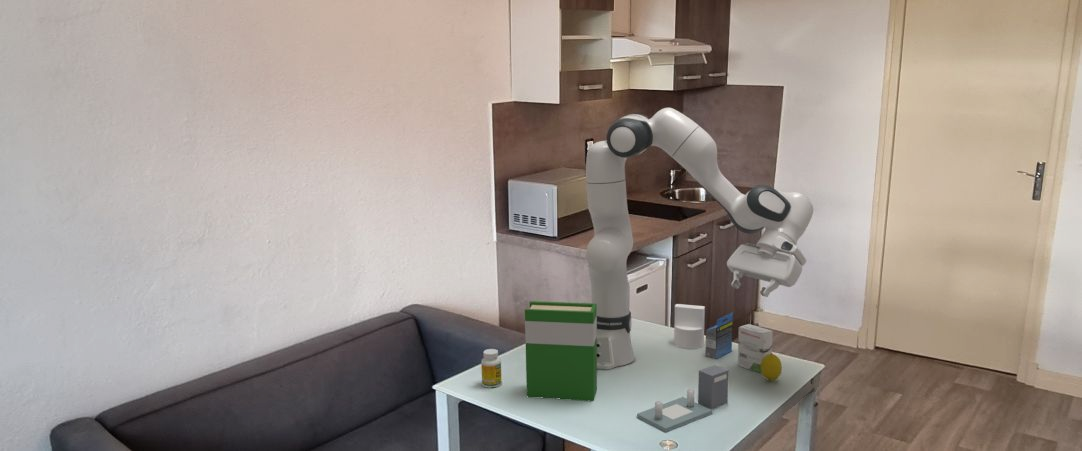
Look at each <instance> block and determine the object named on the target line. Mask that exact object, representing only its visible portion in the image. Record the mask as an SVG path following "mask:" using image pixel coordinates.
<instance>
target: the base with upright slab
mask: <svg viewBox="0 0 1082 451" xmlns="http://www.w3.org/2000/svg"><path fill="white" fill-rule="evenodd" d="M705 307H706V306H703V305H696V304H695V305H694V304H693V305H692V304H682V303H676V304H674V330H673V331H674V332H673V333H674V334H673V335H674V337H673V340H674V341H673V344H674V346H675V347H678V348H680V349H685V350H698V349H700V348H701V349H702V347H704V345H705V316H706V315H705V314H706V313H705V312H706V308H705Z"/></svg>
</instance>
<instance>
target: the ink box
mask: <svg viewBox="0 0 1082 451" xmlns="http://www.w3.org/2000/svg"><path fill="white" fill-rule="evenodd" d="M773 333H774V332H773V329H772V330H771V329H767V328H764V327H761V326H758V325H753V324H750V323H747V324H744V325H741V326H739V327H738V337H737V338H738V339H737V341H738V343H737V344H738V345H737V366H739V367H742V368H745V369H747V370H751V371H754V372H756V373H759V374H762V373H761V362H762V359H763V358H764V357H765V356H766V355H768V354H771V353H773V337H774V336H773Z"/></svg>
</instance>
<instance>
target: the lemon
mask: <svg viewBox="0 0 1082 451" xmlns="http://www.w3.org/2000/svg"><path fill="white" fill-rule="evenodd" d="M782 370H783V366H782V361H781V359H780V357H778V356H777V355H776V354H774V353H773V352H772V353H771V354H768V355H766V356H765V357H764V358H763V359H762V362H761V373H760V374H761V375H762V376H763V378H765V379H766V380H768V382H773V381H774V380H776V379H779V377H780V376H781V374H782Z"/></svg>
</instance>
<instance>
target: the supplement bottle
mask: <svg viewBox="0 0 1082 451" xmlns="http://www.w3.org/2000/svg"><path fill="white" fill-rule="evenodd" d="M482 356H483V358H482V359H481V362H480V363H481V384H482V386H483V385H484V386H486V387H496V388H498V387H500V386H501V385H502V381H503V380H502V360H501V358H500V357H499V350H498V349H496V348H487V349H485V350H483V355H482ZM499 385H500V386H499ZM484 386H483V387H484ZM497 386H498V387H497ZM486 387H485V388H486Z"/></svg>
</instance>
